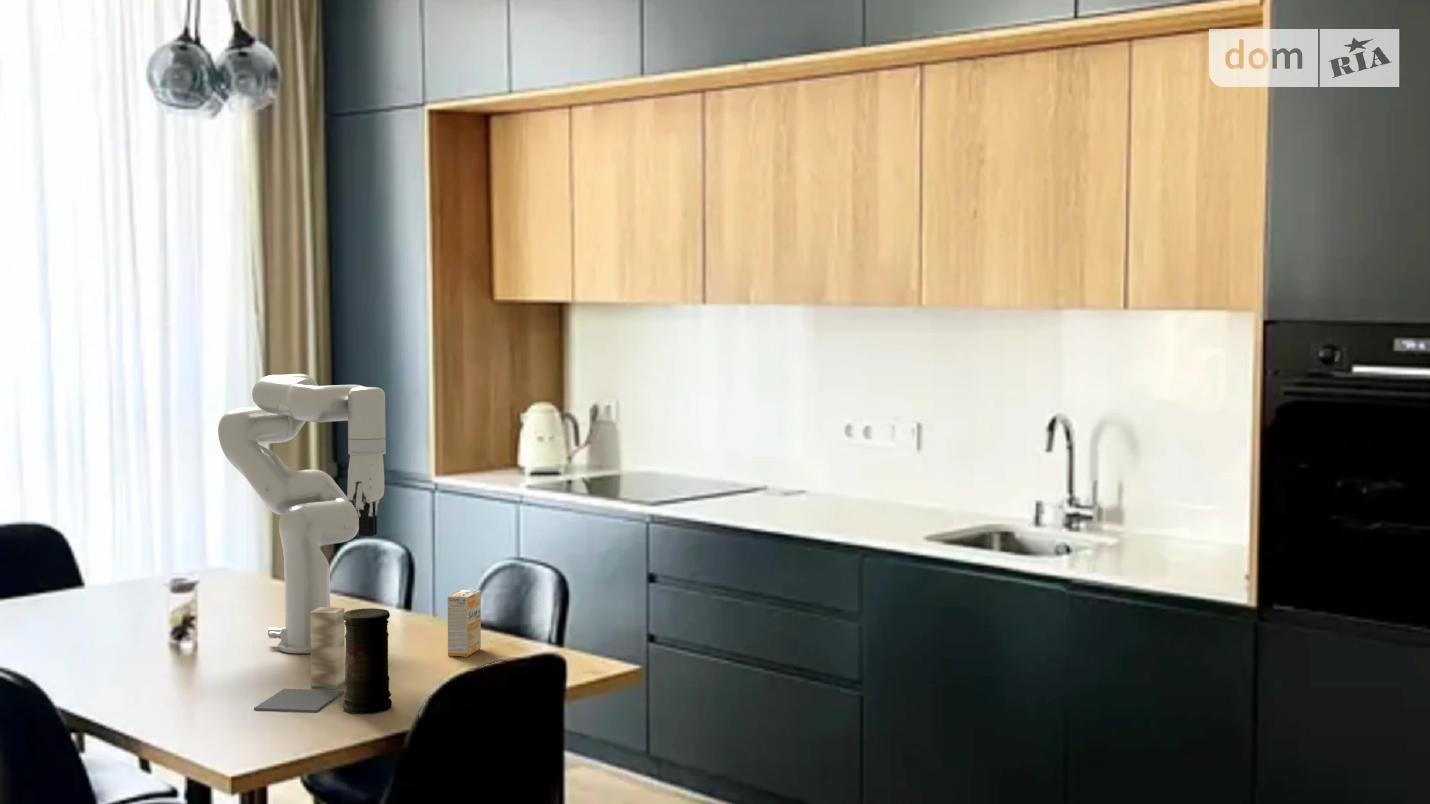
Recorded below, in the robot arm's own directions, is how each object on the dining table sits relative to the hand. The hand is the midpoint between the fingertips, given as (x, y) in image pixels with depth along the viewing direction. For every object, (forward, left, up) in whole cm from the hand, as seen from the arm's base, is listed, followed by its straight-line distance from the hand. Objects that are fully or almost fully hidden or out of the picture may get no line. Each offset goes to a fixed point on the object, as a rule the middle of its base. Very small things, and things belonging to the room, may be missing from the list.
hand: (368, 534), depth 307 cm
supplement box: (+17, +12, -27) cm, 34 cm away
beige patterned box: (-2, -18, -27) cm, 33 cm away
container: (+11, -33, -27) cm, 44 cm away
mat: (-3, -30, -27) cm, 41 cm away
